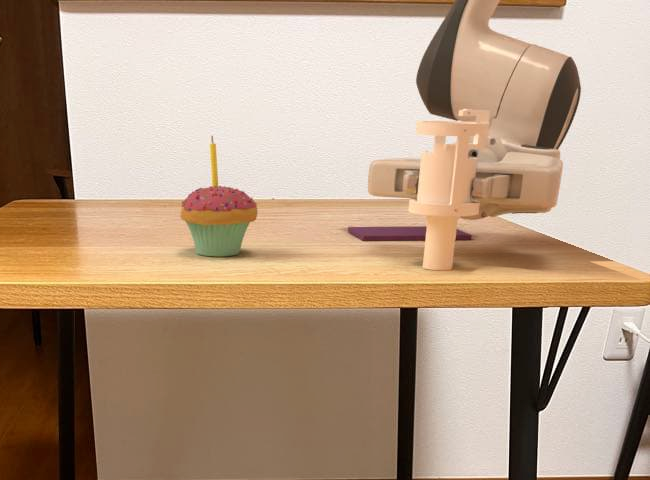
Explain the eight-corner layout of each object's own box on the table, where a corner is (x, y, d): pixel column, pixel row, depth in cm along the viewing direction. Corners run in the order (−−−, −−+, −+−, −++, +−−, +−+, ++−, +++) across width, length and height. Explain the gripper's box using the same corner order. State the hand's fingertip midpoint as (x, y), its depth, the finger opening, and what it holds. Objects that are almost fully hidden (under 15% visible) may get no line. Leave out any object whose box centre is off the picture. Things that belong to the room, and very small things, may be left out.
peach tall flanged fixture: (482, 273, 90) (503, 110, 83) (415, 274, 89) (431, 109, 82) (457, 261, 96) (475, 108, 89) (395, 262, 95) (408, 108, 88)
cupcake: (170, 249, 101) (167, 134, 95) (237, 245, 104) (238, 134, 98) (198, 261, 94) (197, 138, 88) (270, 257, 97) (272, 138, 91)
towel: (449, 230, 117) (450, 226, 117) (471, 239, 110) (471, 234, 110) (347, 231, 116) (348, 226, 115) (363, 240, 109) (363, 235, 108)
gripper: (392, 143, 102) (349, 148, 91) (575, 149, 93) (552, 156, 82) (387, 201, 104) (345, 213, 94) (565, 212, 96) (541, 227, 85)
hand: (443, 186), depth 88 cm, fingers open, 6 cm apart
